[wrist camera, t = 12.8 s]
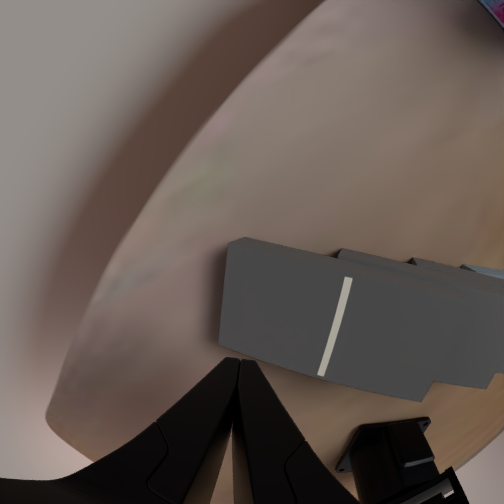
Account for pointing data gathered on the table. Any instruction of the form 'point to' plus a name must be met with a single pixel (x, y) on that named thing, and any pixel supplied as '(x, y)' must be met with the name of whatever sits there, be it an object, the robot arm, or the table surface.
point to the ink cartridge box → (495, 9)
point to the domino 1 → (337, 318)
